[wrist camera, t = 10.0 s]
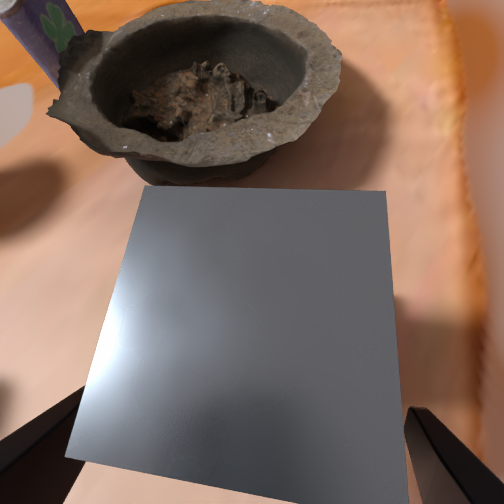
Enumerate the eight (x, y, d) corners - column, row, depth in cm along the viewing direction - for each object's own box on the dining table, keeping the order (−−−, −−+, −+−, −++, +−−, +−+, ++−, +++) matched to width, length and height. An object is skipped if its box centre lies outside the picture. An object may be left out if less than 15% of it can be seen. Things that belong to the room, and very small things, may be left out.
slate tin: (321, 403, 15) (410, 525, 4) (217, 389, 16) (64, 456, 5) (323, 298, 17) (385, 191, 6) (231, 290, 18) (144, 185, 7)
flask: (81, 99, 35) (-11, -16, 24) (59, 102, 35) (-41, -11, 25) (102, 50, 38) (30, -69, 28) (82, 53, 39) (4, -63, 28)
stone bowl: (72, 216, 27) (-22, 142, 19) (156, 69, 38) (118, -19, 30) (322, 240, 22) (339, 153, 14) (338, 62, 33) (353, -45, 25)
